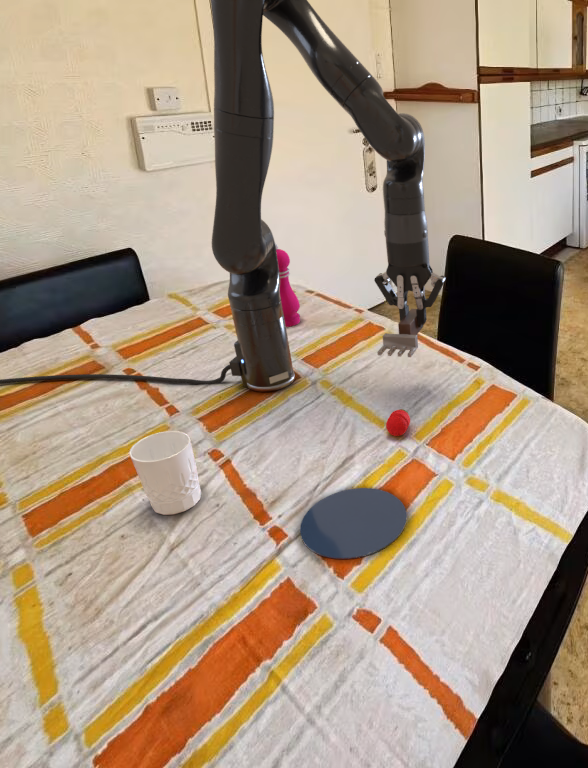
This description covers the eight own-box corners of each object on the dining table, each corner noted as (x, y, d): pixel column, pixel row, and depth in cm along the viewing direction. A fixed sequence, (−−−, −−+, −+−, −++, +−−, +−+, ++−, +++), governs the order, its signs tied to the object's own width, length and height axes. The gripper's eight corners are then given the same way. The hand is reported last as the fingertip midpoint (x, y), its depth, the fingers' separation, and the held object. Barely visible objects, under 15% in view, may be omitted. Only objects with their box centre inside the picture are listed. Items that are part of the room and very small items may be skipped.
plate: (282, 553, 84) (282, 552, 84) (323, 485, 97) (323, 484, 97) (390, 564, 82) (390, 563, 82) (417, 493, 95) (417, 492, 95)
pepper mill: (293, 329, 151) (280, 248, 141) (266, 327, 152) (251, 246, 143) (307, 318, 157) (295, 239, 148) (281, 316, 158) (267, 238, 149)
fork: (403, 325, 123) (402, 308, 121) (432, 327, 122) (432, 309, 120) (377, 355, 109) (375, 336, 107) (410, 357, 108) (409, 338, 106)
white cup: (186, 478, 99) (170, 425, 94) (216, 496, 95) (201, 441, 90) (137, 505, 93) (118, 449, 88) (167, 525, 89) (148, 468, 84)
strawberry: (384, 439, 108) (382, 420, 107) (392, 422, 113) (391, 404, 111) (405, 441, 108) (403, 422, 106) (413, 424, 113) (411, 406, 111)
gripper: (449, 231, 113) (453, 320, 122) (376, 229, 115) (384, 316, 123) (439, 243, 107) (444, 335, 115) (362, 240, 109) (372, 331, 117)
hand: (413, 325), depth 119 cm, fingers closed on fork, 2 cm apart
